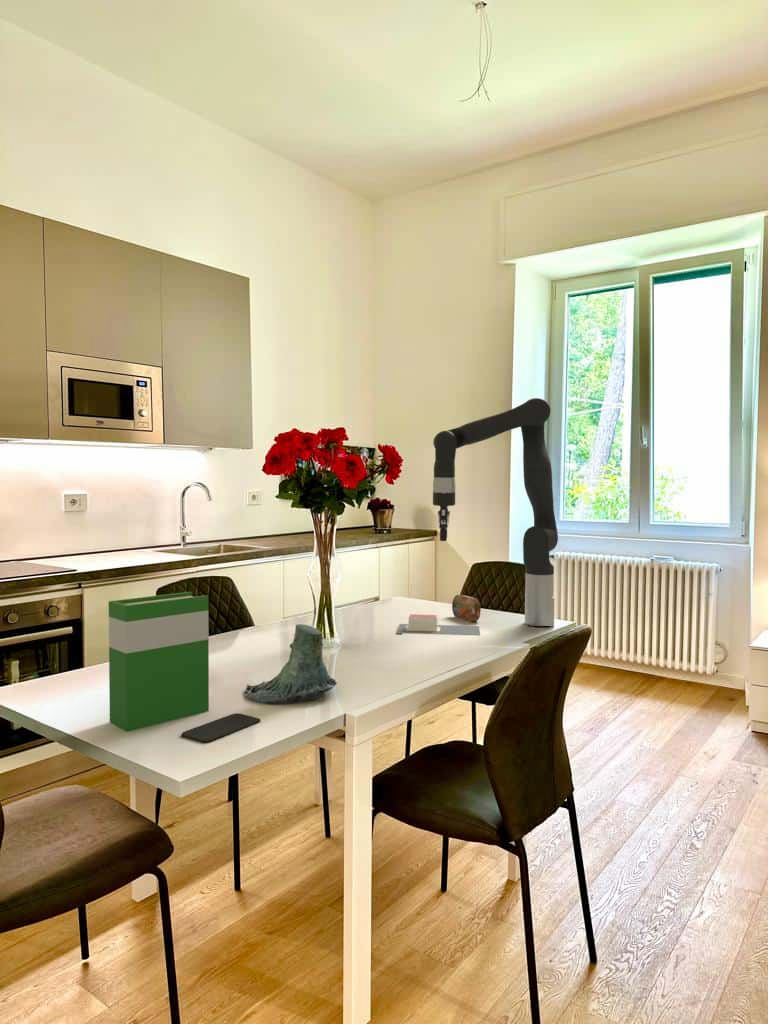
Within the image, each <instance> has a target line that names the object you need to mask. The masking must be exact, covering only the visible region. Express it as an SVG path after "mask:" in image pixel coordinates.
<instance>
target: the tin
mask: <svg viewBox="0 0 768 1024" xmlns="http://www.w3.org/2000/svg"><path fill="white" fill-rule="evenodd" d="M451 608H452V609H451V610H452V614H453V616H454V618H456V617H459V618H458V619H461V620H465V621H468V622H470V623H472V622H477V621H479V619H480V617H481V609H482V608H481V603H480V601H479V600H478V599H477V597H473V596H468V595H464V594H456V595H455V596H454V597H453V600H452V604H451Z"/></svg>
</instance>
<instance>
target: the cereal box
mask: <svg viewBox="0 0 768 1024" xmlns="http://www.w3.org/2000/svg"><path fill="white" fill-rule="evenodd" d="M209 637H210V636H209V595H206V594H205V595H198V596H193V592H192V591H185V592H177V593H167V594H158V595H152V596H143V597H142V596H141V597H134V598H124V599H116V600H108V660H109V661H108V664H109V666H108V667H109V668H108V669H109V670H108V671H109V674H108V675H109V676H108V677H109V682H108V683H109V684H108V685H109V723H110V724H113V726H116V727H117V728H119V729H121V730H123V731H125V732H127V733H128V732H133V731H136V730H140V729H143V728H148V727H152V726H155V725H160V724H164V723H167V722H171V721H175V720H179V719H183V718H188V717H191V716H195V715H199V714H203V713H206V712H209V710H210V709H209V706H210V699H209V698H210V697H209V696H210V695H209V694H210V693H209V692H210V690H209V688H210V684H209V683H210V681H209V679H210V678H209V677H210V676H209V675H210V674H209V673H210V671H209V662H210V661H209V659H210V655H209V654H210V653H209V649H210V648H209V646H210V645H209V642H210V641H209V639H210V638H209Z"/></svg>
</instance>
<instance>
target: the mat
mask: <svg viewBox="0 0 768 1024" xmlns="http://www.w3.org/2000/svg"><path fill="white" fill-rule="evenodd" d="M403 634H419V635H421V634H422V635H444V636H445V635H447V636H448V635H449V636H450V635H451V636H452V635H453V636H478V637H479V636H481V632H480V626H479V625H456V624H455V625H454V624H453V625H452V624H451V625H449V624H448V625H447V624H437V631H431V630H409V623H399V625H398V627H397V629H396V632H395V635H403Z"/></svg>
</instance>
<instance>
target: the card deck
mask: <svg viewBox="0 0 768 1024" xmlns="http://www.w3.org/2000/svg"><path fill="white" fill-rule="evenodd" d="M438 617H439V616H438V614H415V613H414V614H411V613H410V614H409V616H408V624H409V630H431V631H437V625H438Z"/></svg>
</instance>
